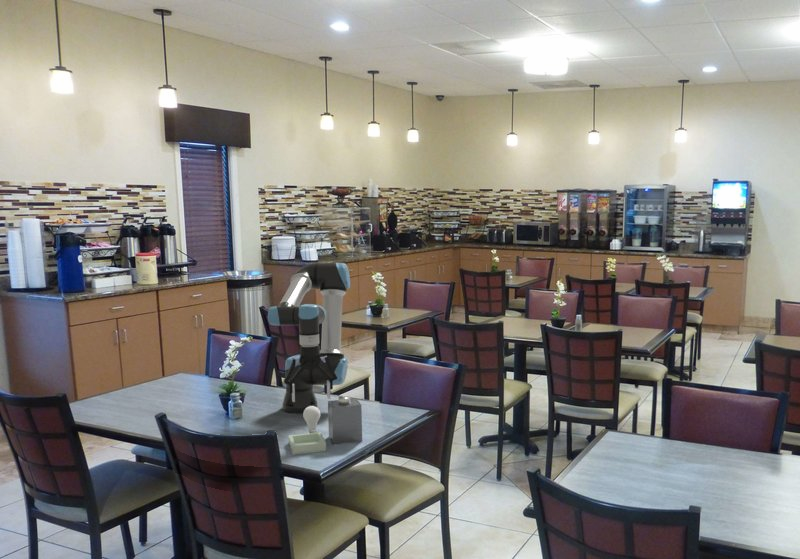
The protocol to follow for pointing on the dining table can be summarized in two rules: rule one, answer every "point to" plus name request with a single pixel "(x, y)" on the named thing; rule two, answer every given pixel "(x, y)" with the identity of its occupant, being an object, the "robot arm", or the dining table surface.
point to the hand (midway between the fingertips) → (311, 399)
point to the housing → (345, 420)
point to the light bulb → (311, 418)
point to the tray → (307, 443)
